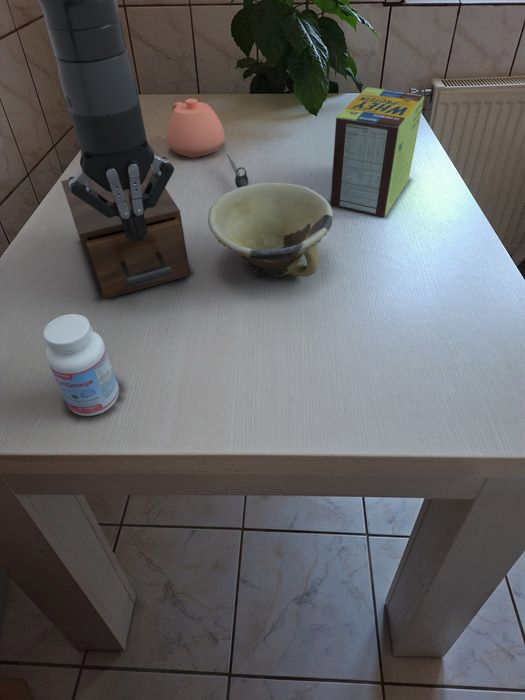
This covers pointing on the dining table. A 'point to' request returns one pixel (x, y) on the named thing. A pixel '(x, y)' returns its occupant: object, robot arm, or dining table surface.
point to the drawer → (138, 258)
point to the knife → (238, 174)
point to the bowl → (272, 226)
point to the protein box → (374, 149)
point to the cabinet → (114, 217)
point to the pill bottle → (80, 365)
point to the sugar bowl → (194, 129)
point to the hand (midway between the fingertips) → (137, 238)
